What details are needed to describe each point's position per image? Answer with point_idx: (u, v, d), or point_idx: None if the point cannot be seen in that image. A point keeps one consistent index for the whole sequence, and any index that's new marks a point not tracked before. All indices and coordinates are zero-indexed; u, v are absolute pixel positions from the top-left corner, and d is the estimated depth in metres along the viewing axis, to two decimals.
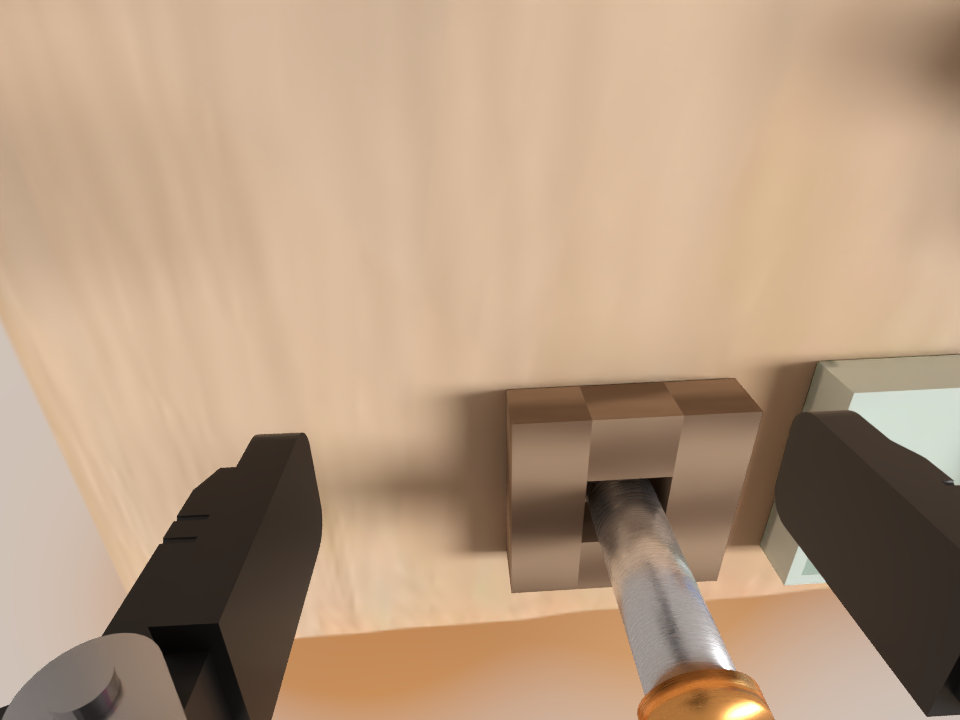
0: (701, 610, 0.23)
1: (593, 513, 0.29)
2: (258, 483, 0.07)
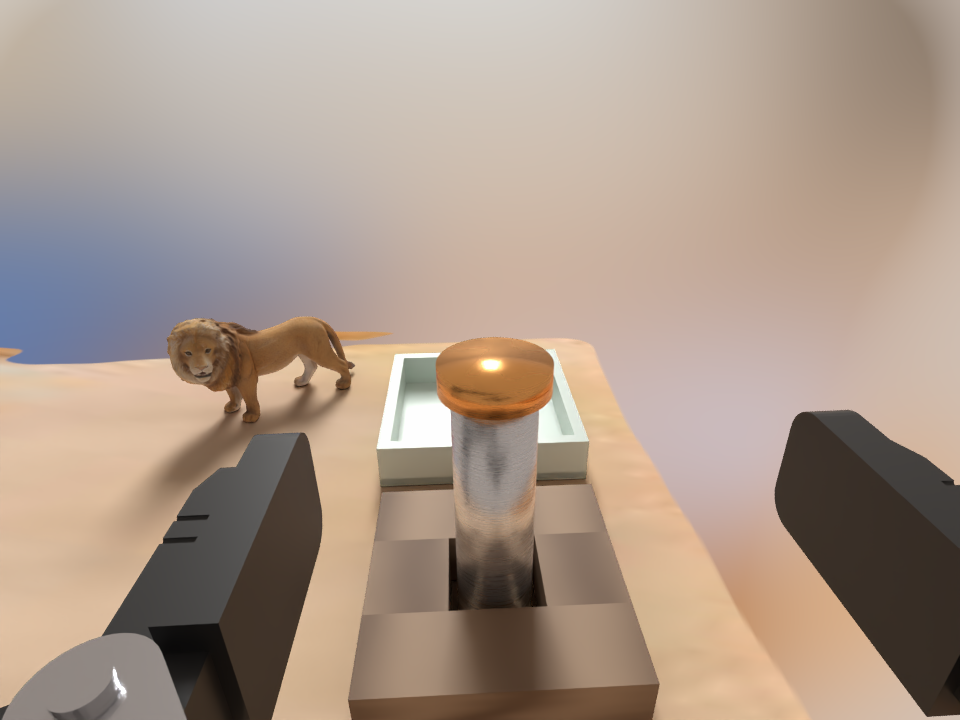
0: None
1: (492, 596, 0.25)
2: (258, 483, 0.07)
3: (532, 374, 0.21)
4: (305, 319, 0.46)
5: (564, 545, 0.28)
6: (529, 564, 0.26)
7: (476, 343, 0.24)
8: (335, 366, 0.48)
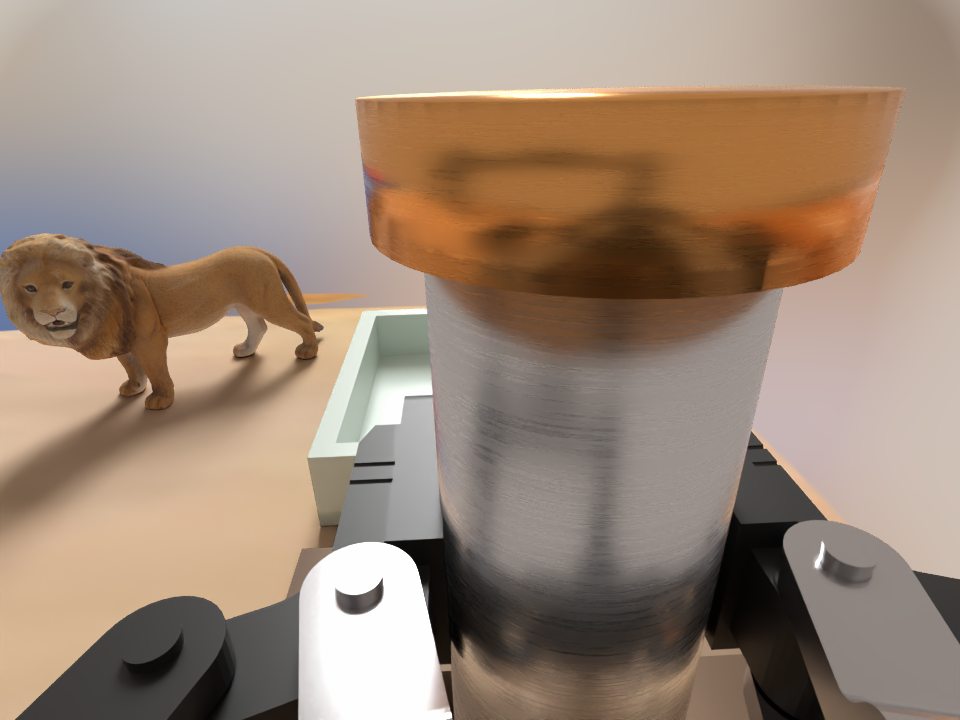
0: None
1: None
2: (427, 433, 0.08)
3: (816, 90, 0.04)
4: (243, 249, 0.30)
5: (724, 692, 0.12)
6: None
7: (517, 90, 0.07)
8: (292, 323, 0.32)
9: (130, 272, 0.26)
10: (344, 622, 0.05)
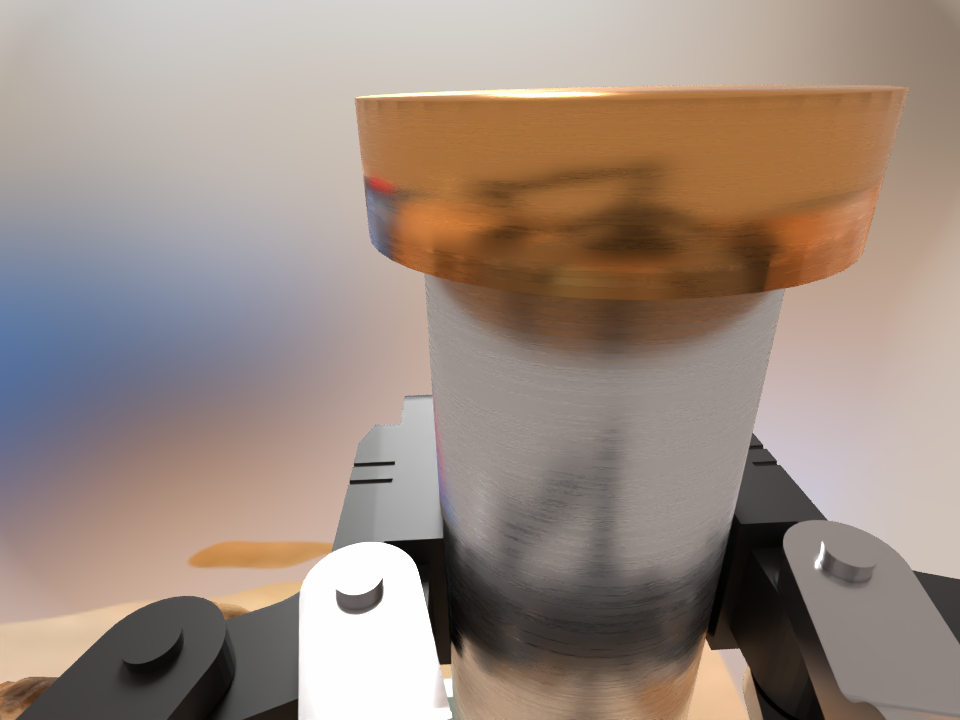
0: None
1: None
2: (427, 434, 0.08)
3: (819, 89, 0.04)
4: None
5: None
6: None
7: None
8: None
9: None
10: (344, 622, 0.05)
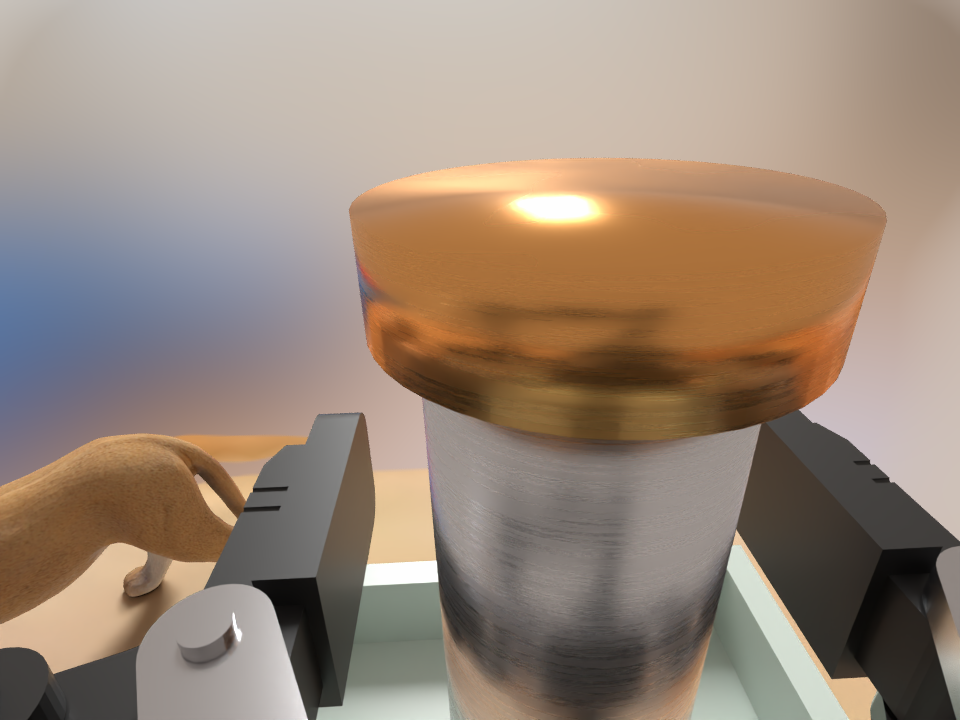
0: None
1: None
2: (330, 457, 0.08)
3: (800, 215, 0.04)
4: (123, 447, 0.16)
5: None
6: None
7: (511, 167, 0.07)
8: None
9: None
10: (179, 677, 0.05)
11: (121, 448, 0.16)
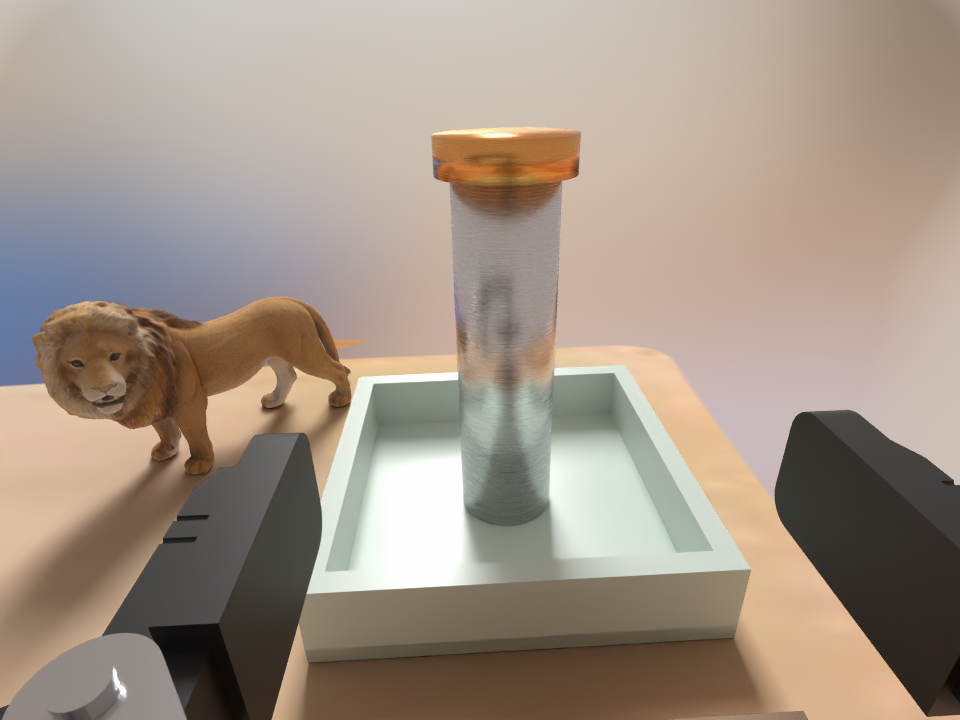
0: None
1: (503, 456, 0.21)
2: (258, 483, 0.07)
3: (554, 135, 0.17)
4: (278, 300, 0.29)
5: None
6: (548, 419, 0.21)
7: (482, 129, 0.19)
8: (328, 372, 0.31)
9: (170, 334, 0.25)
10: None
11: (278, 301, 0.29)
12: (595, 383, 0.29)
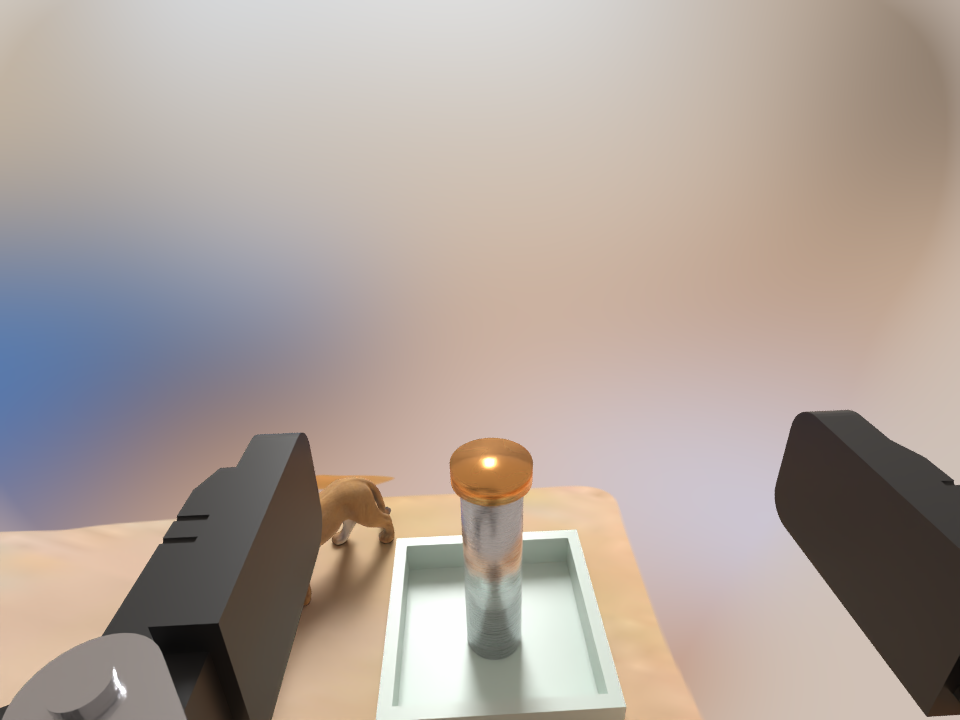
0: None
1: (491, 624, 0.35)
2: (258, 483, 0.07)
3: (517, 472, 0.31)
4: (350, 483, 0.43)
5: None
6: (518, 600, 0.35)
7: (478, 444, 0.33)
8: (380, 523, 0.45)
9: None
10: None
11: (350, 483, 0.43)
12: (555, 544, 0.43)
